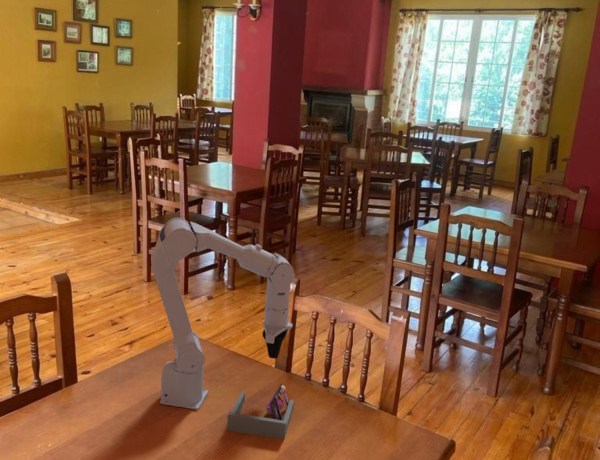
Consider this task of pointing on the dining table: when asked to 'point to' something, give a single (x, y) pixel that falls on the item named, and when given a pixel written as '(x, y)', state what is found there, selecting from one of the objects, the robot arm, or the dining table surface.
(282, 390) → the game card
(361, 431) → the dining table surface
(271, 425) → the frame
